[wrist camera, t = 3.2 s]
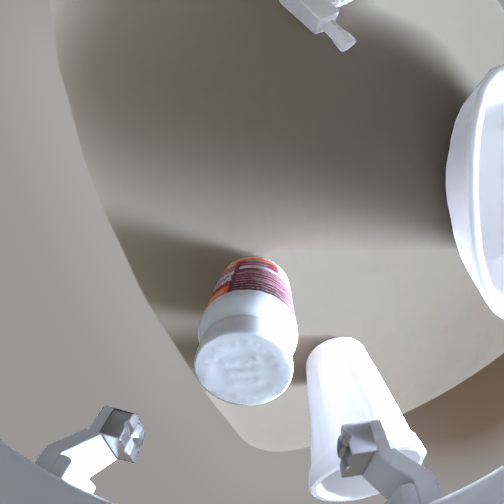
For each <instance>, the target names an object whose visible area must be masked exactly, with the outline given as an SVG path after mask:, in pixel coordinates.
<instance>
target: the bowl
mask: <svg viewBox="0 0 504 504" xmlns="http://www.w3.org/2000/svg"><path fill="white" fill-rule="evenodd" d="M446 195H447V204H448V209H449V213H450V218H451V223H452V229H453V235H454V238H455V241H456V245H457V248H458V251H459V254H460V257H461V259H462V261H463V263H464V265H465V267H466V269H467V271H468V273H469V274H470V276H471V278H472V279H473V281H474V283H475V284H476V286H477V288H478V289H479V291H480V293H481V295H482V296H483V298H484V300H485V302H486V303H487V304H488V306H489V307H490V308H491V310H492V311H493V312H494V314H496V315H497V316H499V317H501V318H502V319H504V64H501V65H499V66H497V67H495V68H493V69H491V70H490V71H489V72H488V73H487V75H486V76H485V77H484V78H483V79H482V81H481V82H480V83H479V85H478V86H477V87H476V88H475V90H474V91H473V92H472V94H471V95H470V96H469V97H468V99H467V100H466V101H465V102H464V104H463V105H462V108H461V110H460V112H459V114H458V116H457V118H456V121H455V125H454V129H453V132H452V136H451V140H450V149H449V153H448V158H447V165H446Z"/></svg>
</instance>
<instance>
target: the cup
mask: <svg viewBox="0 0 504 504" xmlns="http://www.w3.org/2000/svg"><path fill="white" fill-rule="evenodd" d="M306 375H307V389H308V404H309V421H310V440H311V466H312V467H311V469H310V471H309V480H308V487H309V490H310V493H311V494H312V496H314V497H316V498H318V499H320V500H323V501H332V502H343V501H352V500H358V499H362V498H366V497H370V496H373V495H376V494H379V492H378V491H377V490H376V489H375V488H374V487H373V486H372V485H371V484H370V483H369V482H368V481H367V480H366V479H365V478H364V477H363V476H362V475H359V476H352V477H344V478H341V472H340V466H339V465H340V462H341V459H340V458H339V457H338V454H337V440H338V437H339V436H340V435H341V427H342V425H343V424H350V423H357V422H364V421H372V420H377V419H380V420H381V422H382V424H383V427H384V430H385V432H386V435H387V438H388V441H389V444H390V446H391V449H392V448H395V449H397V450H398V451H400V452H401V453H403V454H404V455H406V456H407V457H409V458H410V459H412V460H413V461H415V462H416V463H418V464H420V465H422V462H423V460H424V457H425V455H426V450H425V448H424V446H423V444H422V443H421V441H420V440H419V438H418V437H417V436H416V434H415V433H414V432H412V431H411V430H410V428H409V427H408V425H407V423H406V421H405V419H404V417H403V415H402V413H401V412H400V410H399V408H398V406H397V404H396V403H395V401H394V399H393V397H392V395H391V394H390V392H389V390H388V388H387V386H386V385H385V383H384V381H383V379H382V378H381V376H380V374H379V372H378V371H377V369H376V367H375V365H374V364H373V362H372V360H371V359H370V357H369V355H368V354H367V352H366V350H365V348H364V347H363V345H362V344H361V343H360V342H358V341H357V340H355V339H353V338H347V337H337V338H333V339H329V340H326V341H325V342H323V343H321V344H320V345H318V346H316V347H315V349H314V350H313V351H312V352H311V353H310V355H309V356H308V359H307V362H306Z"/></svg>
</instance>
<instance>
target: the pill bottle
mask: <svg viewBox="0 0 504 504" xmlns="http://www.w3.org/2000/svg"><path fill="white" fill-rule="evenodd" d="M198 338H199V343H200V344H199V347H198V350H197V353H196V356H195V362H194V368H195V373H196V376H197V378H198V380H199V382H200V383H201V385H202V386H203V387H204V388H205V389H206V390H207V391H208V392H209V393H211V394H212V395H213V396H215V397H217V398H218V399H221V400H223V401H226V402H228V403H232V404H237V405H257V404H262V403H265V402H268V401H271V400H273V399H275V398H276V397H278V396H279V395H281V394H282V393H283V392H284V391H285V390H286V388H287V387H288V386H289V384H290V382H291V379H292V376H293V359H292V355H293V354H294V351H295V349H296V345H297V340H298V331H297V323H296V319H295V313H294V308H293V302H292V296H291V290H290V285H289V281H288V278H287V276H286V274H285V273H284V271H283V270H282V269H281V268H280V267H279V266H278V265H277V264H275V263H274V262H272V261H270V260H268V259H266V258H262V257H256V256H250V257H244V258H241V259H238V260H236V261H235V262H233V263H232V264H230V265H229V266H228V267H227V268H226V269H225V270H224V272H223V273H222V275H221V277H220V279H219V281H218V283H217V285H216V287H215V289H214V291H213V293H212V295H211V297H210V299H209V301H208V304H207V306H206V308H205V310H204V312H203V315H202V317H201V320H200V323H199V328H198Z"/></svg>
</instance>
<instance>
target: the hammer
mask: <svg viewBox="0 0 504 504" xmlns="http://www.w3.org/2000/svg"><path fill="white" fill-rule="evenodd" d="M278 1H279V2H280V3H281V4H282V5H283V7H284V8H286V9H287V10H288V11H289V12H290V13H291V14H293V15H294V16H295V17H296V18H297V19H298V20H299V21H301V22H302V23H303V24H304V25H305V26H306V27H307V28H308V29H309V30H310V31H311V32H313V33H315V34H318V33H321V32H324V31H325V32H326V33H327V34H328V35H329V37H330V38H331V39H332V40H333V43H334V44H335V45H336V46H337V47H338V49H339V50H340V51H341V52H344V51H346V50H348V49H349V48H351V47H352V46H353V45H354V44H355V43H356V39H355V38H354V37H353V36H352V35H351V34H350V33H349V32H348V31H345V30H343V29H342V28H341V27H340V26H339V25H338V24H337V23H336V22H335V20H336V18H337V16H338V13H339V10H338V8H337V6H339V7H341V6H342V5H343V4H344V5H346V4H347V3H348V2H351V1H353V0H278Z"/></svg>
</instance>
